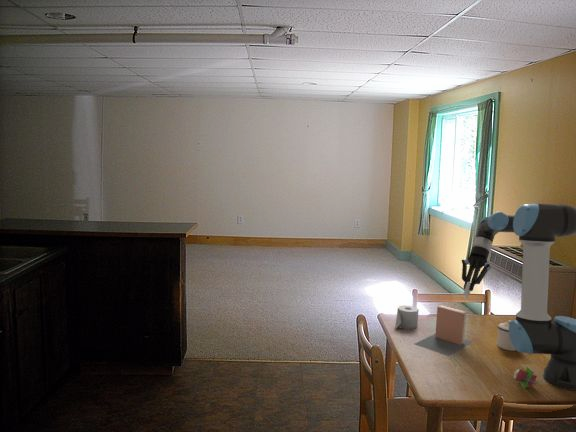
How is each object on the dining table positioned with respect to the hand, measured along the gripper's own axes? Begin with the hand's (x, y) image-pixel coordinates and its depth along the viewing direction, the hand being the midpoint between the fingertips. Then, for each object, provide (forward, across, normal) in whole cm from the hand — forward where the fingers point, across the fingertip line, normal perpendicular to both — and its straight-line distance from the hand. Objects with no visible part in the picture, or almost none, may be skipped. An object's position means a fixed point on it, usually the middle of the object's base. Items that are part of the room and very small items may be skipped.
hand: (465, 296), depth 217 cm
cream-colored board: (+19, +4, -7) cm, 20 cm away
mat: (+22, +4, -3) cm, 23 cm away
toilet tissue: (+18, +26, -8) cm, 33 cm away
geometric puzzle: (+32, -34, +10) cm, 48 cm away
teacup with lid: (+12, -17, -18) cm, 27 cm away
